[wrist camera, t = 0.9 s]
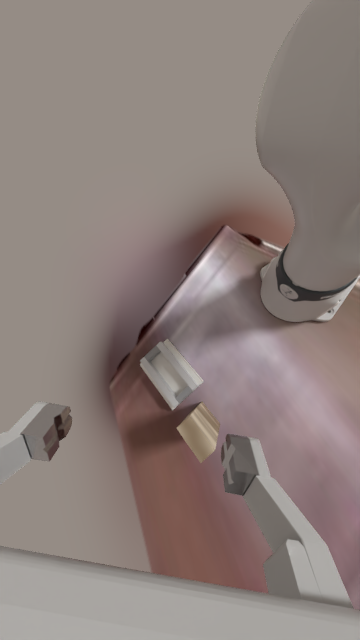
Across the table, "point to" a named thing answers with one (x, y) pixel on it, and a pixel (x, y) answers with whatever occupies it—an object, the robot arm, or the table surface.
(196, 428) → the tan wooden block
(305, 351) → the table surface
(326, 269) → the robot arm
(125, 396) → the table surface
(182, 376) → the floor track
